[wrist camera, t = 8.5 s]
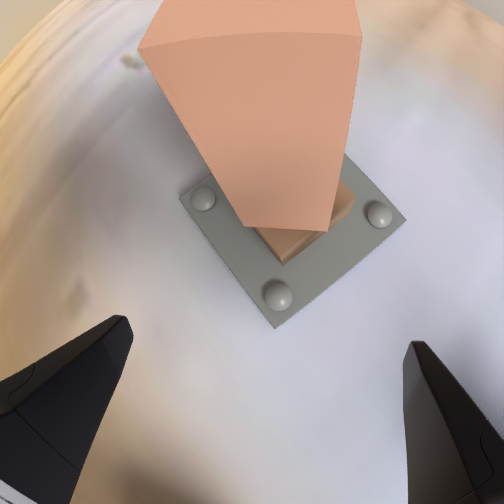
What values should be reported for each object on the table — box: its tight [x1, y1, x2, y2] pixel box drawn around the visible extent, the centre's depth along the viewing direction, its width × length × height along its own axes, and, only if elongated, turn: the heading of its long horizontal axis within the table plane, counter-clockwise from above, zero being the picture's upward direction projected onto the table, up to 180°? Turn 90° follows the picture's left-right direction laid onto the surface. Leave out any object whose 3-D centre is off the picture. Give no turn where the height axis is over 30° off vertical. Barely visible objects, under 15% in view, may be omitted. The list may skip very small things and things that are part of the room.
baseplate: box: [179, 153, 406, 329], centre depth 23 cm, size 12×12×2 cm
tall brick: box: [137, 0, 362, 232], centre depth 13 cm, size 5×5×14 cm
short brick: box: [252, 179, 356, 266], centre depth 21 cm, size 6×6×3 cm
